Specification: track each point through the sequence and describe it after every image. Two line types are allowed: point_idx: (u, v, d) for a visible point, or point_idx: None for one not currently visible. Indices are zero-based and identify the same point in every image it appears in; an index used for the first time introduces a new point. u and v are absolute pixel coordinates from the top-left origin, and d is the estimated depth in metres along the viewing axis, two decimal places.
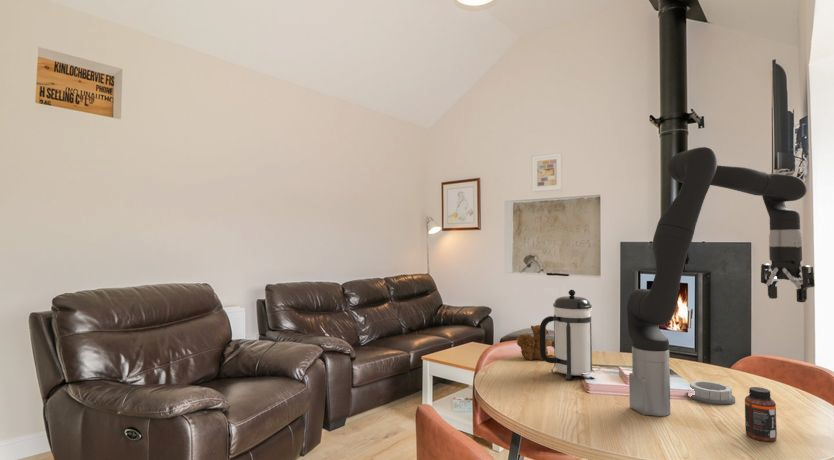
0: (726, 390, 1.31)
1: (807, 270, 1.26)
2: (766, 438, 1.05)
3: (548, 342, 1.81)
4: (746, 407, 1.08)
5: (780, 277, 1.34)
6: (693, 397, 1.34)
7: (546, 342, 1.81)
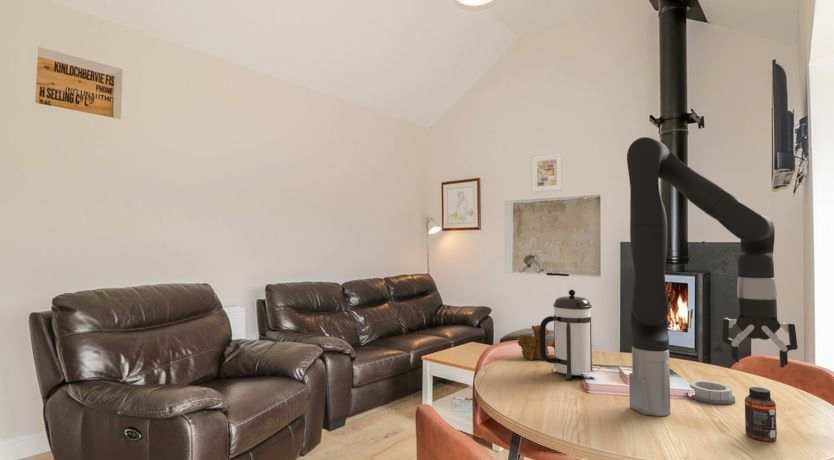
0: (726, 390, 1.31)
1: None
2: (766, 438, 1.05)
3: (549, 342, 1.81)
4: (746, 407, 1.08)
5: (754, 336, 1.08)
6: (693, 397, 1.34)
7: (547, 342, 1.81)
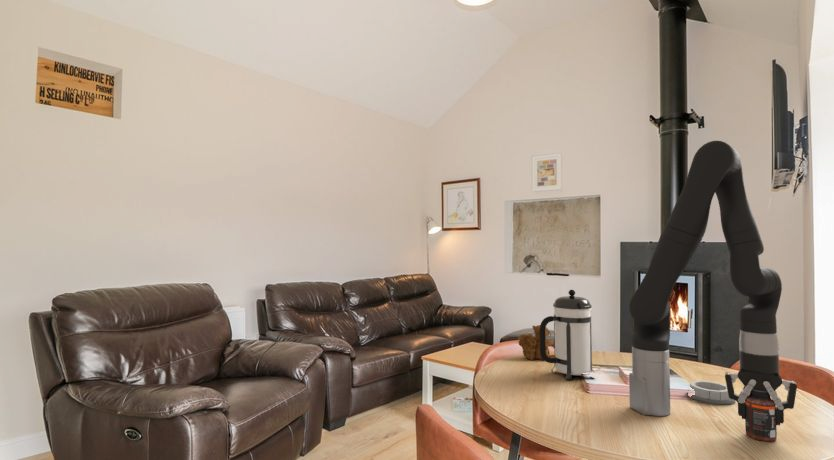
0: (726, 390, 1.31)
1: None
2: (766, 438, 1.05)
3: (550, 342, 1.81)
4: (746, 407, 1.08)
5: None
6: (693, 397, 1.34)
7: (548, 342, 1.81)
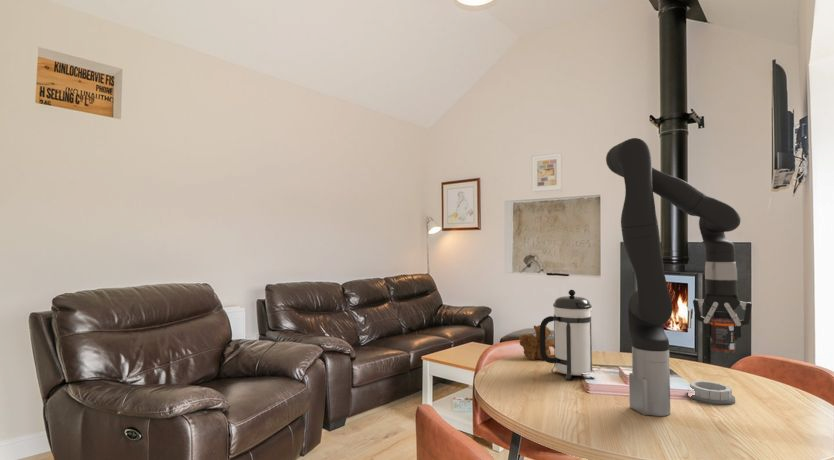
0: (726, 390, 1.31)
1: None
2: (726, 350, 1.24)
3: (551, 342, 1.81)
4: (710, 326, 1.28)
5: None
6: (693, 397, 1.34)
7: (549, 342, 1.81)
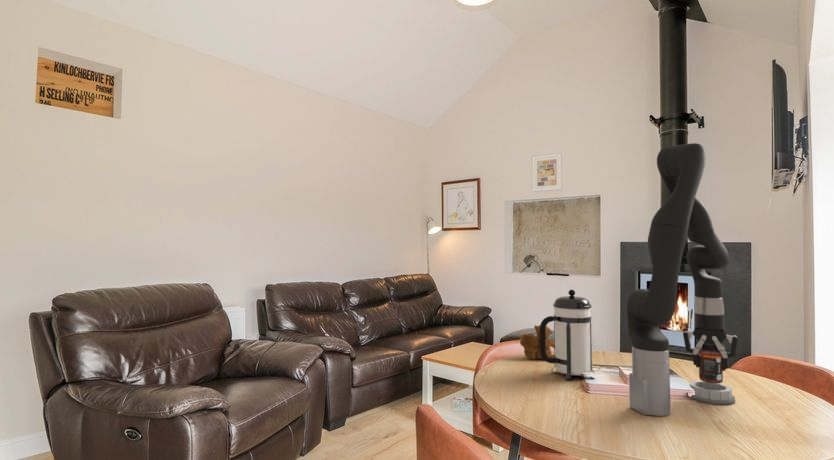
0: (726, 390, 1.31)
1: None
2: (714, 381, 1.32)
3: (551, 342, 1.81)
4: (699, 357, 1.36)
5: None
6: (693, 397, 1.34)
7: (549, 342, 1.81)
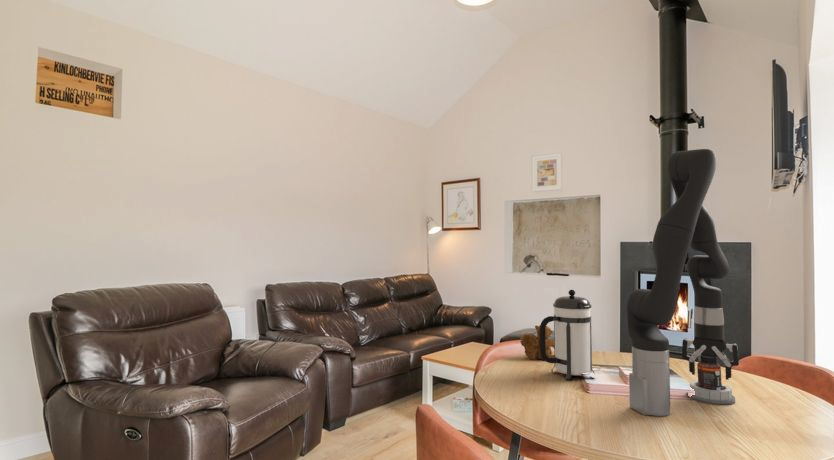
0: (726, 390, 1.31)
1: (737, 349, 1.31)
2: None
3: (552, 342, 1.81)
4: (698, 370, 1.36)
5: (706, 354, 1.35)
6: (693, 397, 1.34)
7: (550, 342, 1.81)
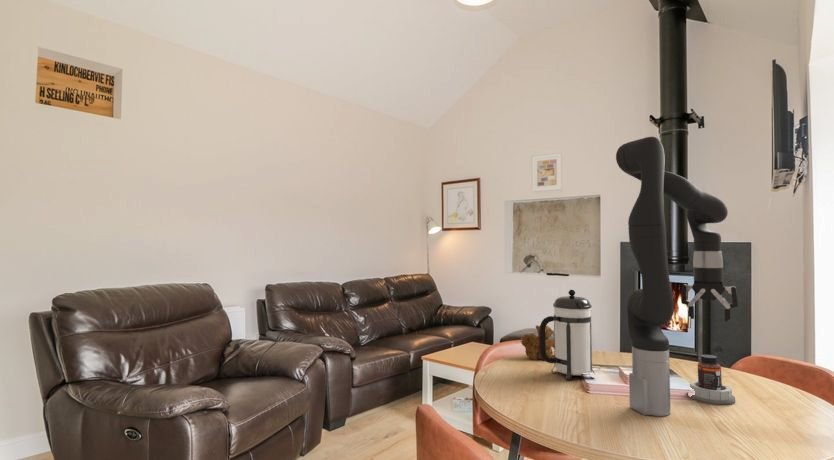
0: (726, 390, 1.31)
1: None
2: None
3: (553, 342, 1.81)
4: (698, 370, 1.36)
5: (705, 298, 1.36)
6: (693, 397, 1.34)
7: (551, 342, 1.81)
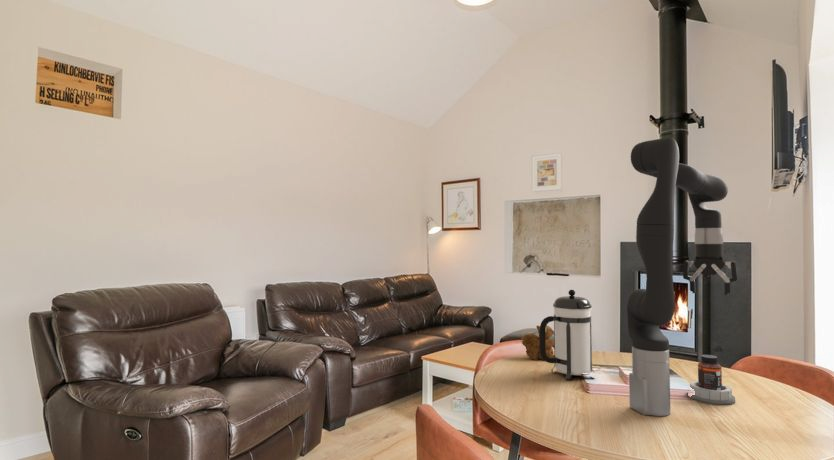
0: (726, 390, 1.31)
1: (735, 265, 1.38)
2: None
3: (553, 342, 1.81)
4: (699, 370, 1.35)
5: (706, 272, 1.42)
6: (693, 397, 1.34)
7: (551, 342, 1.81)
